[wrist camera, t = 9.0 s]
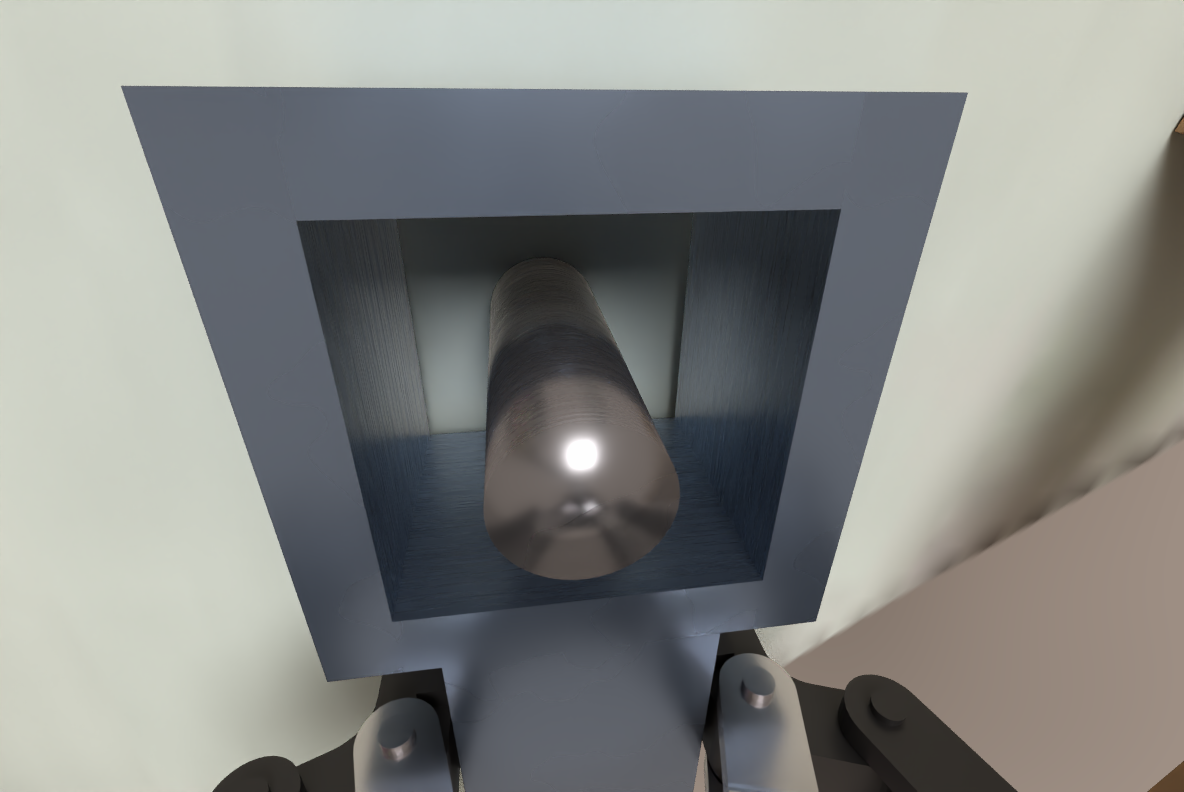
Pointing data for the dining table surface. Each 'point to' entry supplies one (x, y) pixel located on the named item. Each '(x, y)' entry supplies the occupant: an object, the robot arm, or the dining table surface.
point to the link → (457, 460)
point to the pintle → (567, 434)
